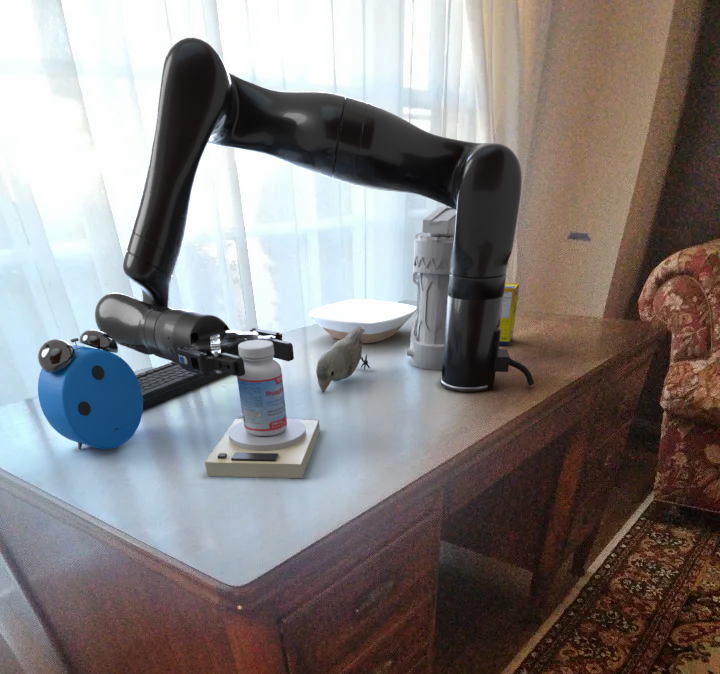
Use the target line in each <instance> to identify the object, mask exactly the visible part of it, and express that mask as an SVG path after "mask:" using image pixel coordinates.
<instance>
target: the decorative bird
mask: <svg viewBox="0 0 720 674" xmlns="http://www.w3.org/2000/svg"><path fill="white" fill-rule="evenodd" d="M364 331H365V330H364V329H362V327H360V326H358V327H357V328H354V329H353V330H352V331H350V332H349V333H348V335H347V336H346V337H345V338H343V339H341V340H340V339H338V340H337V341H336V342H334V344H332V345H331V347H330V349H329V350H327V351H325V352H324V353H323V354H322V355H321V356H320V357H319V359H318V361H317V364H316V370H315V371H316V379H317V381H318V382H317V383H318V387H319V389H320V391H321V392H322V393H324V392H326V390H327V389H328V387H329V386H330V384H331V382H332V381H333V382H340V381H344V380H345V379H348V378H350V377H351V376H352V375H353V374H354V372H355V371H356V369H357V368H358V366H359V363H360V360H361V362H363V363H362V364H361V365H360V369H362V368H363V369H364V371H366V367H367V368H368V369H371V367H370V365H369V363H368V353H367V354H366V355H365V358H364V357H363V356H362V355H363V343H362V340H361V338H360V337H361V336H362V334H363V333H364Z"/></svg>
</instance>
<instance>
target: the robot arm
mask: <svg viewBox="0 0 720 674" xmlns="http://www.w3.org/2000/svg"><path fill="white" fill-rule="evenodd" d="M157 106H158V107H157V114H156V123H155V129H154V136H153V141H152V147H151V153H150V158H149V162H148V167H147V172H146V177H145V181H144V185H143V189H142V193H141V195H140V196H141V197H140V200H139V204H138V207H137V212H136V215H135V219H134V223H133V225H132V229H131V232H130V236H129V239H128V243H127V247H126V250H125V254H124V258H123V263H122V270H123V272H124V274H125V275H126V276H127V277H128V279H130V280H131V281H132V282H134V283H135V284H136V285H137V286H139V287H140V289H141V294H142V300H140V299H138V298H135V297H132V296H130V295H127V294H124V293H120V292H109V293H107V294H105V295H103V296H102V297H101V298H100V299H99V300H98V302H97V304H96V306H95V310H94V318H95V319H94V320H95V324H96V326H97V330H99V328H100V329H102V332H105V333H107V334H109V335H110V336H111V337H112V338H113V339H114V340H115V342H116V344H117V345H120V346H121V347H125V348H127V349H130V350H133V351H135V352H137V353H140V354H143V355H148V356H151V355H154V356H155V357H158V358H160V359H164V360H167V361H171V362H174V363H176V364H178V365H181V368H182V369H185V370H188V371H191V372H193V373H196V374H199V375H202V376H208V375H210V374H215V373H218V374H221V373H223V372H225V373H229V375H232V376H236V377H237V376H239V377H240V376H243V375H245V368H244V361H243V359H242V357H240V355H239V350H238V345H239V344H240V343H242V342H245V341H251V340H267V341H271V342H272V343H273V346H274V356H273V359H277V360H282V361H285V362H291V361H294V359H295V356H294V346H293V343H292V342H289V341H285V340H283V333H282V332H279V331H273V330H269V329H262V328H256V327H251V328H250V329H249V331H239V330H237V329H230V328H229V326H228V325H227V324H226V322H225V321H224V320H223V319H222V318H220V317H219V316H217V315H213V314H209V313H204V312H199V311H195V310H191V309H185V308H172V307H169V306H170V305H169V304H170V303H169V302H170V292H171V291H170V290H171V289H170V288H171V283H172V280H173V276H174V274H175V270H176V268H177V264H178V261H179V258H180V254H181V251H182V247H183V244H184V239H185V234H186V230H187V223H188V216H189V210H190V203H191V196H192V192H193V188H194V183H195V180H196V175H197V172H198V169H199V166H200V162H201V160H202V157H203V155H204V153H205V150H206V148H207V145H211V146H218V147H226V148H232V149H238V150H242V151H243V150H244V151H250V152H254V153H259V154H264V155H268V156H270V157H274V158H276V159H279V160H280V161H284V162H285V163H287V164H291V165H293V166H296V167H298V168H301V169H304V170H307V171H310V172H312V173H315V174H319V175H321V176H324V177H327V178H328V179H329V178H330V179H332V180H333V179H334V180H337V181H340V182H343V183H346V184H349V185H354V186H357V187H362V188H367V189H370V190H371V189H372V190H377V191H387V192H396V193H407V194H413V195H418V196H421V197H424V198H427V199H430V200H433V201H435V202H438V203H440V204H442V205H443V206H445V205H446V206H449V207H451V208H453V209H455V210H457V211H456V224H455V236H454V243H453V249H452V253H451V256H450V267H449V282H448V296H447V310H446V324H445V338H444V352H443V366H442V368H441V369H440V373H441V378H440V385H441V386H442V387H443V388H445V389H447V390H450V391H455V392H462V393H477V392H482V391H483V392H484V391H486V390H494V387H495V381H496V373H508V372H509V367H510V366H511V367H513V368H515V369H517V370H519V372H521V373H522V374H523V375H524V376H525V379H526V381H527V384H528V387H532V386H533V385H534V384H535V381H534V378H533V376H532V373H531V371H530V370H529V369H528V367H526V365H524V364H523V363H521V362H519V361H516V360H514V359H512V358H511V356H510V353H509V351H508V349H507V348H500V345H499V343H500V335H501V330H500V320H501V312H502V305H503V297H504V289H505V283H506V279H507V272H508V266H509V265H508V264H509V260H510V257H511V255H512V252H513V248H514V243H515V238H516V237H515V236H516V229H517V223H518V218H519V217H518V216H519V211H520V202H521V196H522V186H523V173H522V167H521V164H520V161H519V158H518V157H517V155H516V153H515V152H514V151H513V150H512V149H511V148H509V147H508V146H507V145H505V144H501V143H497V142H472V141H465V140H460V139H455V138H450V137H444V136H440V135H437V134H433V133H431V132H428V131H426V130H423V129H421V128H420V127H418V126H416V125H415V124H413V123H411V122H409V121H408V120H406V119H403V118H402V117H400V116H398V115H397V114H394V113H392V112H390V111H388V110H386V109H383V108H381V107H379V106H376V105H373V104H371V103H368V102H365V101H363V100H359V99H356V98H353V97H350V96H346V95H344V94H340V93H335V92H327V91H313V90H312V91H310V90H309V91H307V90H305V91H280V90H274V89H270V88H266V87H263V86H261V85H258V84H256V83H253V82H251V81H247V80H245V79H243V78H242V77H239V76H236V75H235V74H233V73H231V72H229V71H228V68H227V66H226V64H225V63H224V61H223V59H222V57H221V56H220V54H219V53H218V52H217V50H216V49H215V48H214V47H213V46H212V45H211V44H210V43H208V42H207V41H204V40H203V39H201V38H197V37H185V38H183V39H180V40H179V41H177V42H176V43H174V44H173V46H172V47H170V49H169V51H168V52H167V55H166V56H165V59H164V61H163V67H162V73H161V82H160V89H159V96H158V105H157Z"/></svg>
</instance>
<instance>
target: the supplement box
mask: <svg viewBox="0 0 720 674" xmlns="http://www.w3.org/2000/svg"><path fill="white" fill-rule="evenodd" d="M520 285H521V283H520V282H505V289H504V297H503V305H502V312H501V320H500V330H501V335H500V343H499V346H509V345H510V344H511V342H512V340H513V338H514V331H515V323H516V322H515V321H516V315H517V308H518V307H517V306H518V299H519V292H520Z"/></svg>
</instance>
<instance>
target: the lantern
mask: <svg viewBox="0 0 720 674" xmlns="http://www.w3.org/2000/svg"><path fill="white" fill-rule="evenodd" d="M456 211H457V210H455V209H453V208H451V207H449V206H446V205H442V206H439V207H438V208H436V209H434V211H432V212H431V213H430V214H428V215H427V216H426V217H425V218H423V219H422V232H418V233H416V234H415V236H414V240H413V263H412V264H413V266H412V283H413V285H416V286H417V291H416V292H417V293H416V307H417V311H416V312H415V315H414V317H413V320H412V323H411V327H410V345H409V346H408V348H407V349H406V355H407V357H410V359H411V364H412V365H413V366H414V367H416V368H420V369H423V370H432V371H433V370H440V371H441V368H442V366H443V352H444V338H445V324H446V310H447V296H448V282H449V267H450V256H451V253H452V249H453V243H454V236H455V224H456Z"/></svg>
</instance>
